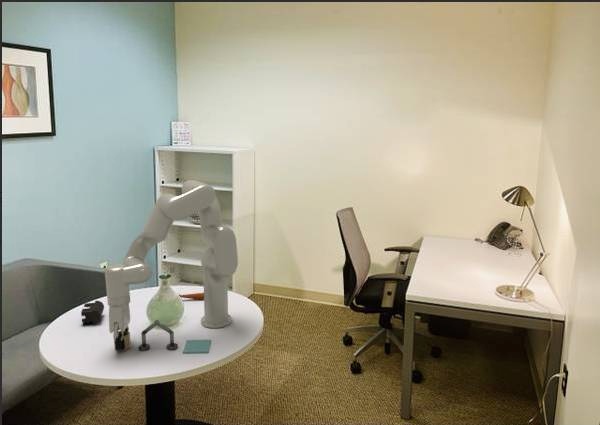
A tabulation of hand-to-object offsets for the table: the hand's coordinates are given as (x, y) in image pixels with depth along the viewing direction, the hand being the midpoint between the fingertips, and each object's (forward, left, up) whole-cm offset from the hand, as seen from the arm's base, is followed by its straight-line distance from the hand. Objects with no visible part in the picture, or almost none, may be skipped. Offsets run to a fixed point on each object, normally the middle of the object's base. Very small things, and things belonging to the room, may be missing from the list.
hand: (122, 345), depth 173 cm
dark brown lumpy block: (-24, -18, -2) cm, 30 cm away
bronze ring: (0, 0, -1) cm, 1 cm away
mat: (0, +27, -1) cm, 27 cm away
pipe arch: (0, +13, -1) cm, 13 cm away
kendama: (-43, +14, -2) cm, 45 cm away
